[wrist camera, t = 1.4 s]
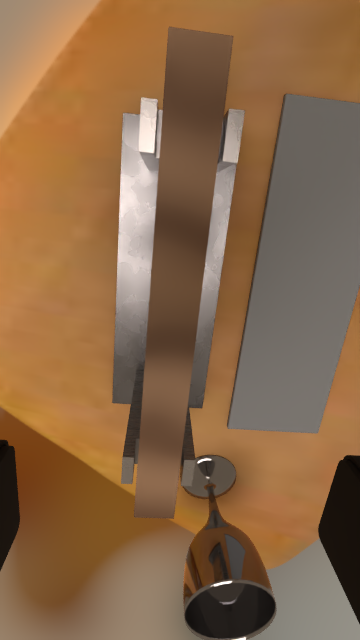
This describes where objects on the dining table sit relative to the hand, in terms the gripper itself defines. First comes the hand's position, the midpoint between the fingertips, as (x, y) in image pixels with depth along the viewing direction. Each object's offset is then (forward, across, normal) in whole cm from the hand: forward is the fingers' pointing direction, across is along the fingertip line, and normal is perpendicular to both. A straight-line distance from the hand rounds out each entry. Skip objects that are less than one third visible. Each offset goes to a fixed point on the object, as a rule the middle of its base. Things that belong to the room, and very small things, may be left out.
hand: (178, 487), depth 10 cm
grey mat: (+26, -14, 0) cm, 29 cm away
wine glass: (+26, -8, +25) cm, 37 cm away
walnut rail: (+14, 0, 0) cm, 14 cm away
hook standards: (+26, 0, 0) cm, 26 cm away
